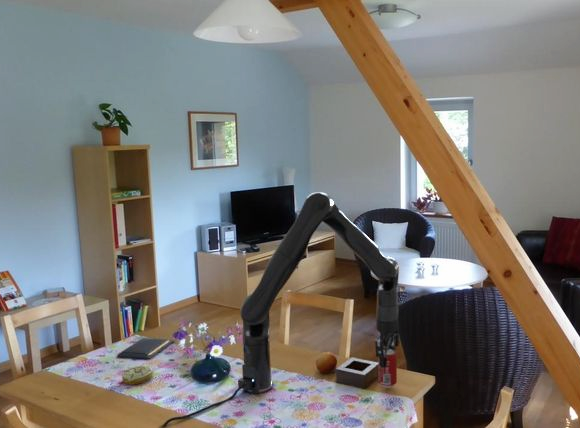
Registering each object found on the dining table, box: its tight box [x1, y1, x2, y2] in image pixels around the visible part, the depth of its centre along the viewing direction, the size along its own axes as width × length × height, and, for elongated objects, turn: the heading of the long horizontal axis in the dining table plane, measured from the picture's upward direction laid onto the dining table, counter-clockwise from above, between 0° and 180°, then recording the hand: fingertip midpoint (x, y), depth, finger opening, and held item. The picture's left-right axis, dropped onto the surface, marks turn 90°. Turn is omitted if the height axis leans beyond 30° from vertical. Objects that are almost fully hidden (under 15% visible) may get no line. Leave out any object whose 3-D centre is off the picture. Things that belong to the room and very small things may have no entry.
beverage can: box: [377, 349, 398, 389], centre depth 196 cm, size 6×6×12 cm
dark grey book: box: [117, 337, 174, 360], centre depth 238 cm, size 20×2×15 cm
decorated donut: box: [121, 364, 154, 385], centre depth 208 cm, size 10×11×4 cm
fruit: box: [315, 351, 338, 374], centre depth 212 cm, size 8×8×8 cm
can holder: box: [335, 357, 378, 390], centre depth 205 cm, size 12×12×5 cm
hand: (387, 363), depth 196 cm, fingers closed on beverage can, 6 cm apart
